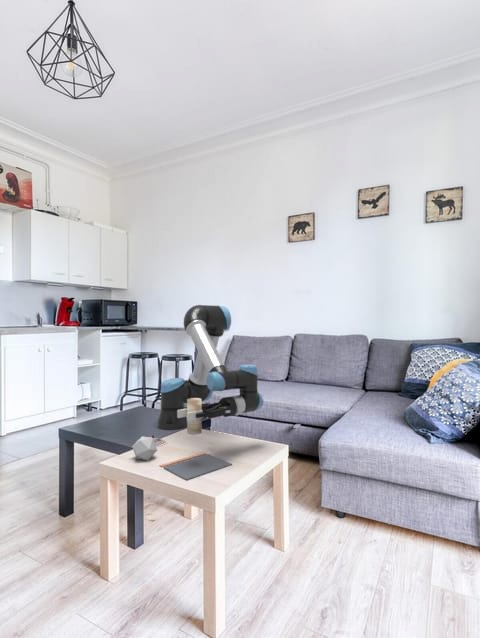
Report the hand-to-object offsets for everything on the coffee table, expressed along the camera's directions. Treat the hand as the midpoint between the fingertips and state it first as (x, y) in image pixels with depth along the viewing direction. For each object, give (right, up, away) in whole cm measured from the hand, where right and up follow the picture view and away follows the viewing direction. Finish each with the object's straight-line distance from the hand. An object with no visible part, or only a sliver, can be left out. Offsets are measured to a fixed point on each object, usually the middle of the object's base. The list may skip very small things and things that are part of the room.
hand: (182, 415), depth 131 cm
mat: (+5, -19, +1) cm, 19 cm away
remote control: (-18, -20, +28) cm, 39 cm away
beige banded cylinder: (+4, -7, +3) cm, 9 cm away
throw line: (-1, -19, +8) cm, 20 cm away
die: (-16, -19, +9) cm, 26 cm away
